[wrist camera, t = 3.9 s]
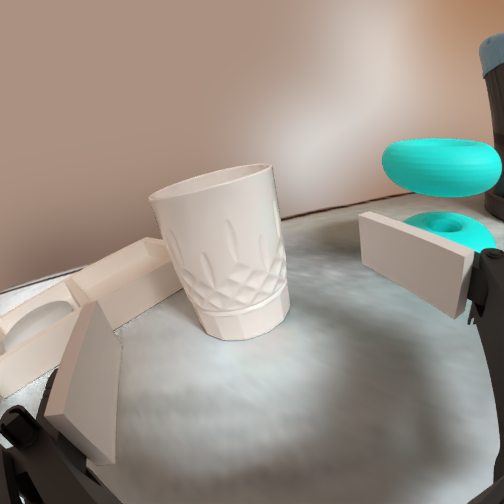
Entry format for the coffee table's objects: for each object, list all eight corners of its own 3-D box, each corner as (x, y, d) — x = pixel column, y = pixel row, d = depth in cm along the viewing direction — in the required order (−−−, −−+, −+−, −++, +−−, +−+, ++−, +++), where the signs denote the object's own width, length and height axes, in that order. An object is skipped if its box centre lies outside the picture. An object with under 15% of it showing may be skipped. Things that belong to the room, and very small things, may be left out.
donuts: (355, 148, 18) (407, 136, 23) (367, 275, 22) (414, 232, 27) (496, 153, 10) (503, 141, 15) (481, 309, 14) (500, 250, 19)
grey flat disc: (65, 300, 27) (61, 292, 27) (85, 326, 21) (80, 317, 21) (7, 336, 21) (3, 329, 21) (11, 374, 16) (5, 365, 15)
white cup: (277, 355, 16) (236, 184, 12) (174, 338, 20) (123, 206, 16) (309, 285, 22) (287, 158, 19) (224, 283, 26) (194, 175, 22)
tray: (153, 257, 37) (146, 236, 36) (206, 273, 29) (197, 246, 28) (3, 343, 22) (-9, 322, 21) (3, 399, 14) (-17, 372, 13)
